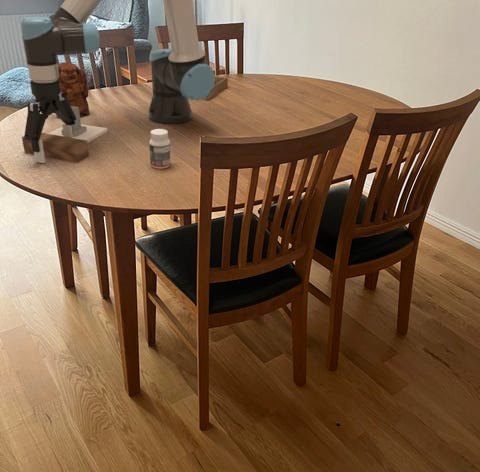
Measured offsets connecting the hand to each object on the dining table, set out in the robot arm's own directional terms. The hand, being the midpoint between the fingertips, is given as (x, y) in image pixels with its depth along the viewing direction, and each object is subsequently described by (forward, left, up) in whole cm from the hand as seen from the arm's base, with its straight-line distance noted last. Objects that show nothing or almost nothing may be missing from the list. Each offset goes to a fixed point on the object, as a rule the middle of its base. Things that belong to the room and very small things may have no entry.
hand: (55, 153), depth 147 cm
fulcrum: (+4, -15, 0) cm, 16 cm away
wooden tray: (-12, -81, 0) cm, 82 cm away
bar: (0, 0, -1) cm, 1 cm away
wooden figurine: (+16, -32, 0) cm, 36 cm away
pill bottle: (-31, -5, 0) cm, 32 cm away
